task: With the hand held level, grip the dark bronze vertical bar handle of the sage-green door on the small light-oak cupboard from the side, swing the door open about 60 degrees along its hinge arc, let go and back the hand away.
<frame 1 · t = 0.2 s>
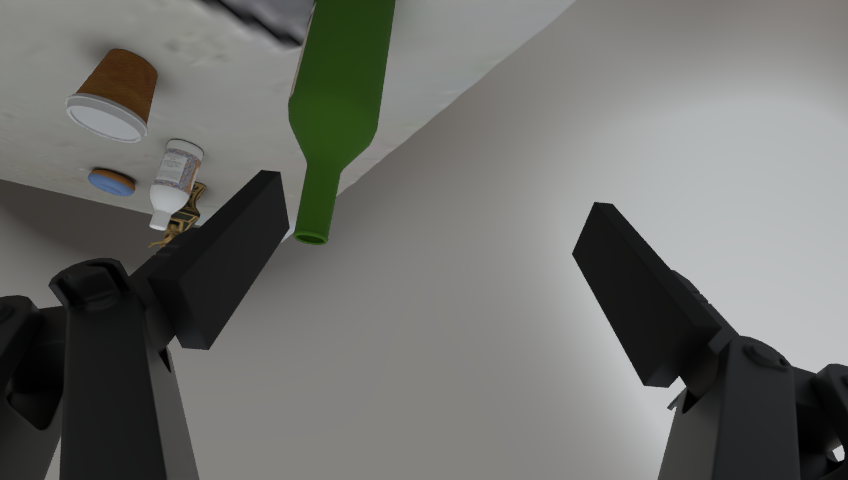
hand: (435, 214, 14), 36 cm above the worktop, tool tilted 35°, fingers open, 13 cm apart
doughnut: (115, 175, 94), on the worktop
bath foam: (186, 146, 78), on the worktop
disposable coffee cup: (134, 64, 55), on the worktop
decorative box: (184, 188, 99), on the worktop
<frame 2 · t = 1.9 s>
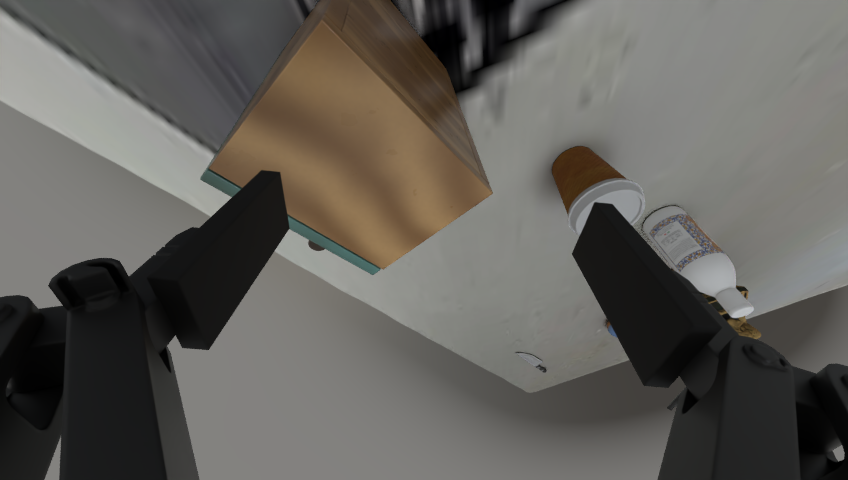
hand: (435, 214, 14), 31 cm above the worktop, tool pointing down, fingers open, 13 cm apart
chef's knife: (534, 359, 101), on the worktop
cabinet: (370, 56, 38), on the worktop
bath foam: (660, 218, 62), on the worktop
disposable coffee cup: (572, 163, 51), on the worktop
decorative box: (688, 280, 78), on the worktop
door: (304, 166, 34), point 12 cm above the worktop, hinge at 0.0°
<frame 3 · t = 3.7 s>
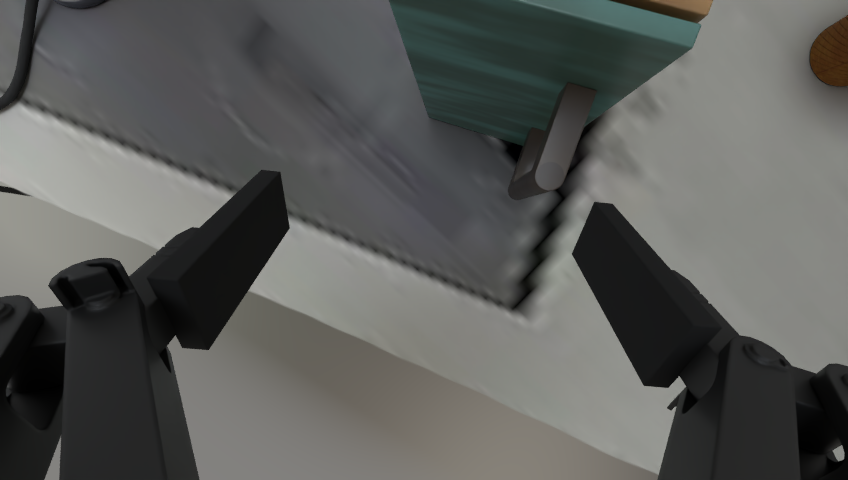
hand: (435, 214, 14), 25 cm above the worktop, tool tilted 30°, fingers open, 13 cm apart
cabinet: (507, 76, 37), on the worktop
disposable coffee cup: (842, 55, 34), on the worktop
door: (486, 133, 26), point 12 cm above the worktop, hinge at 0.0°
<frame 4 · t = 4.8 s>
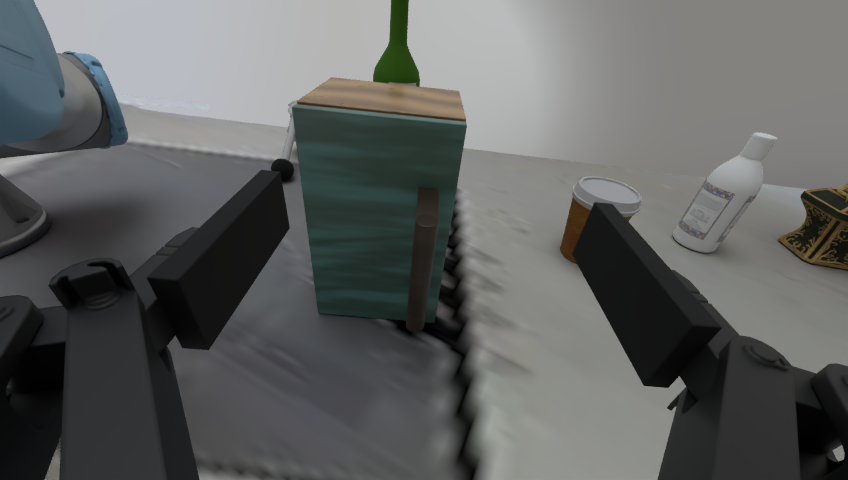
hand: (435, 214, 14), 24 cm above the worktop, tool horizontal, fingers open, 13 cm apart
cabinet: (383, 281, 46), on the worktop
mechanical valve: (304, 163, 75), on the worktop
bath foam: (691, 243, 62), on the worktop
disposable coffee cup: (579, 254, 56), on the worktop
decorative box: (837, 259, 62), on the worktop
door: (373, 254, 31), point 12 cm above the worktop, hinge at 0.0°
wine bottle: (392, 172, 76), on the worktop
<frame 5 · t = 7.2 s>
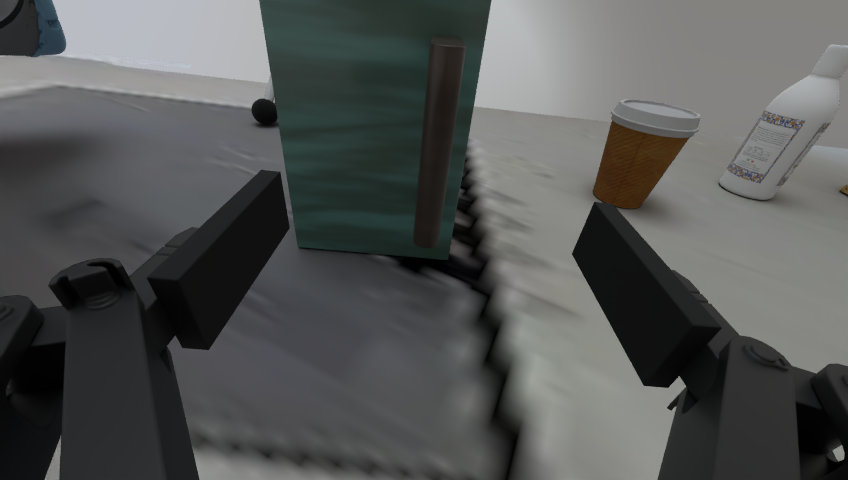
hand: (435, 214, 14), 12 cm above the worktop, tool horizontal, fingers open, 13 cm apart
mechanical valve: (292, 113, 66), on the worktop
bath foam: (742, 191, 53), on the worktop
disposable coffee cup: (615, 198, 47), on the worktop
door: (367, 136, 22), point 12 cm above the worktop, hinge at 0.0°
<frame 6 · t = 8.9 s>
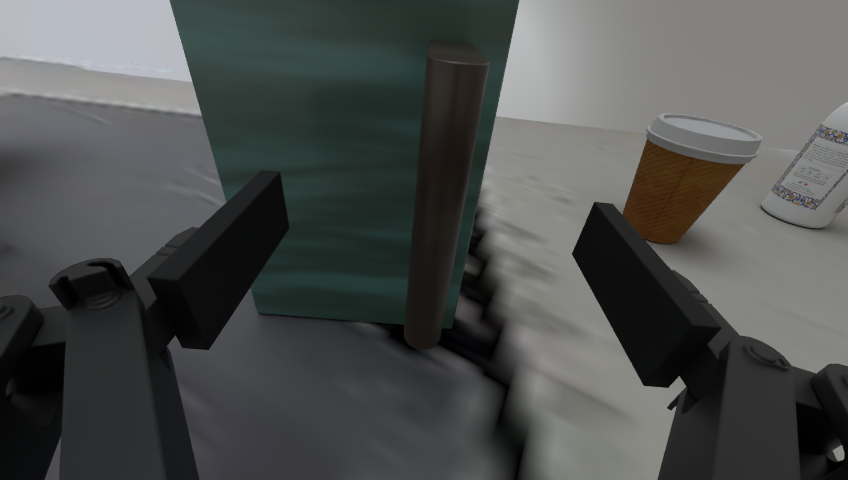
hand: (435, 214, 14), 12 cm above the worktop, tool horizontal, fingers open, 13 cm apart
bath foam: (789, 217, 46), on the worktop
disposable coffee cup: (648, 230, 40), on the worktop
door: (336, 189, 15), point 12 cm above the worktop, hinge at 0.0°
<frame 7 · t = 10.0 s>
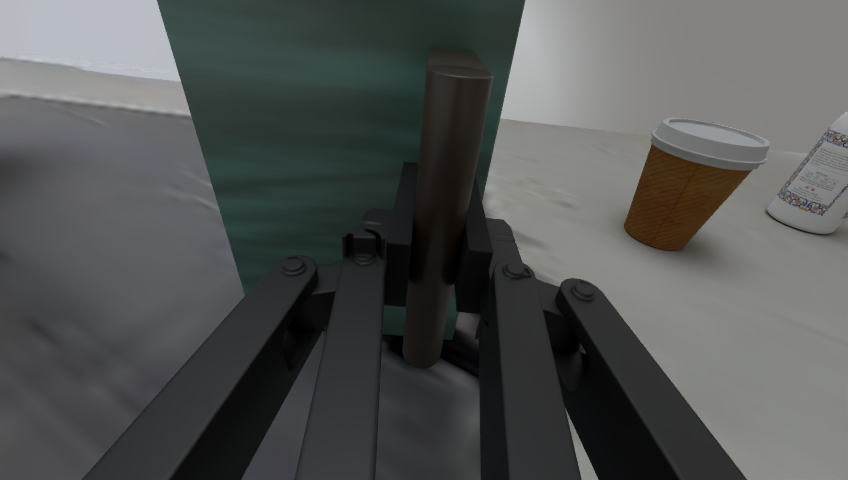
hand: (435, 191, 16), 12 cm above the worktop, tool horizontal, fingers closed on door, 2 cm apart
bath foam: (795, 222, 45), on the worktop
disposable coffee cup: (652, 235, 39), on the worktop
door: (332, 202, 15), point 12 cm above the worktop, hinge at 0.0°, touching gripper
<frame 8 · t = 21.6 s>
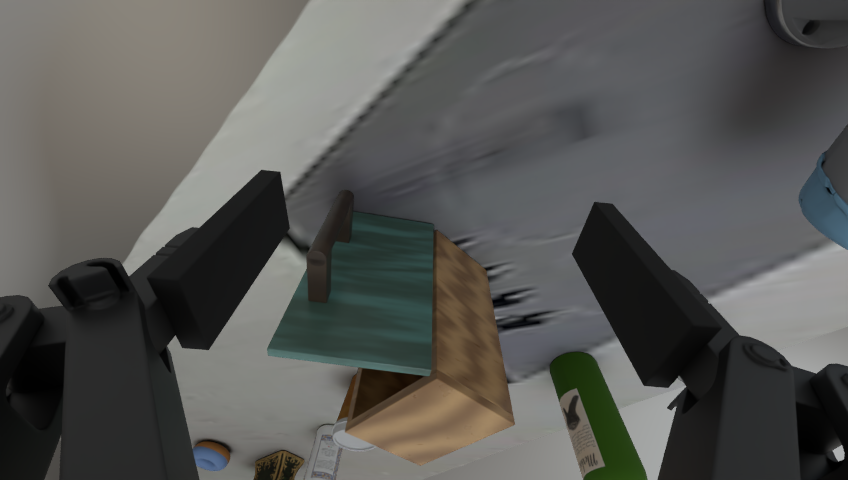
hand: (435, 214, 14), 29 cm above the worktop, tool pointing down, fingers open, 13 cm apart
doughnut: (215, 446, 92), on the worktop
cabinet: (430, 275, 54), on the worktop
bath foam: (332, 429, 85), on the worktop
disposable coffee cup: (367, 380, 72), on the worktop
decorative box: (276, 461, 96), on the worktop
door: (374, 251, 37), point 12 cm above the worktop, hinge at 56.5°
wine bottle: (571, 364, 67), on the worktop
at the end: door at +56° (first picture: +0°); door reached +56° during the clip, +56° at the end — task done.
